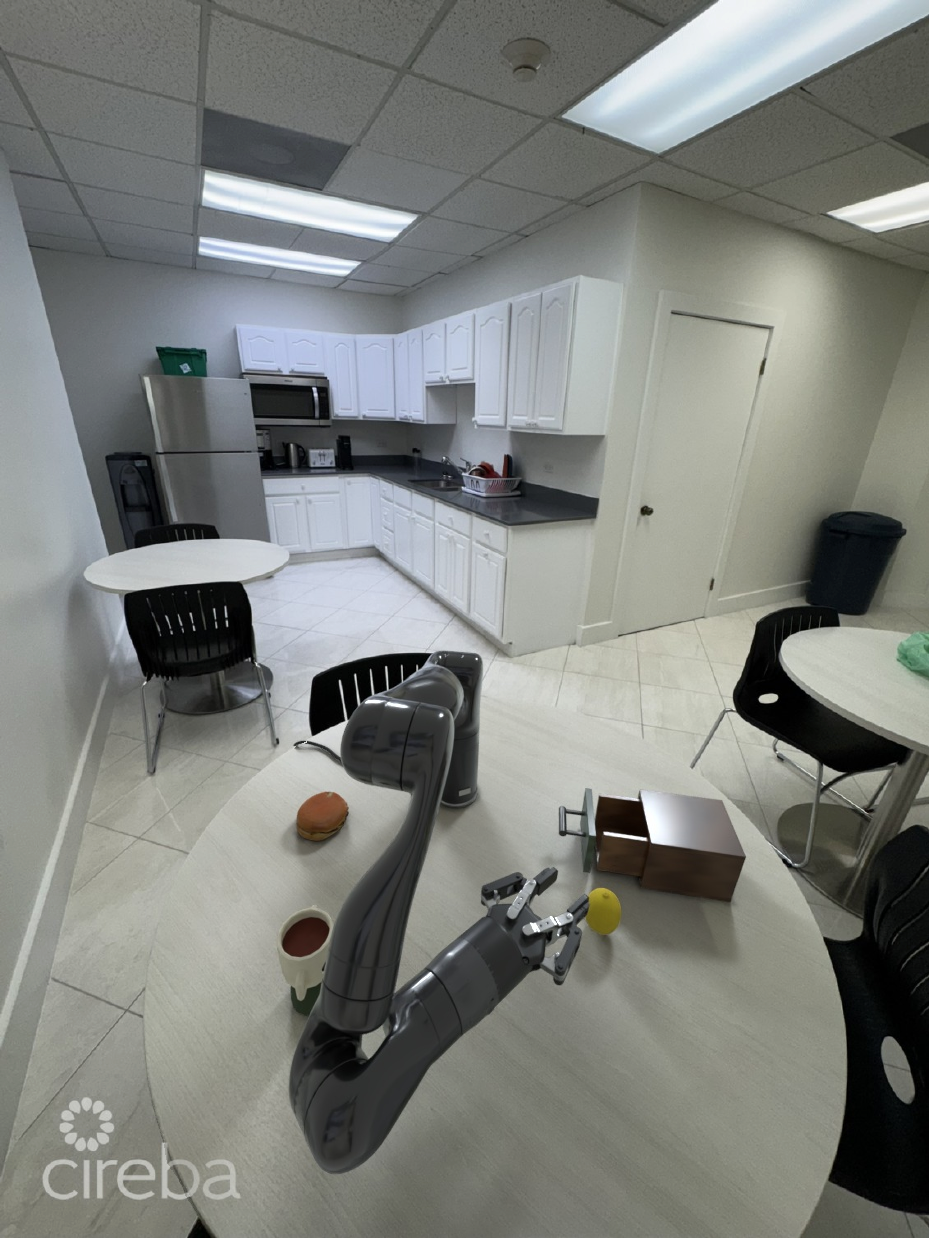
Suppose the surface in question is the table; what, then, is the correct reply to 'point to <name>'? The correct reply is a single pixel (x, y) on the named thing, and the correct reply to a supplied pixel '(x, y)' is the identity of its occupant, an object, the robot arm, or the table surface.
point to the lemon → (603, 911)
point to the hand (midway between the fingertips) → (570, 886)
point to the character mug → (304, 954)
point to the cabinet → (690, 846)
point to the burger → (321, 816)
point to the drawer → (610, 833)
